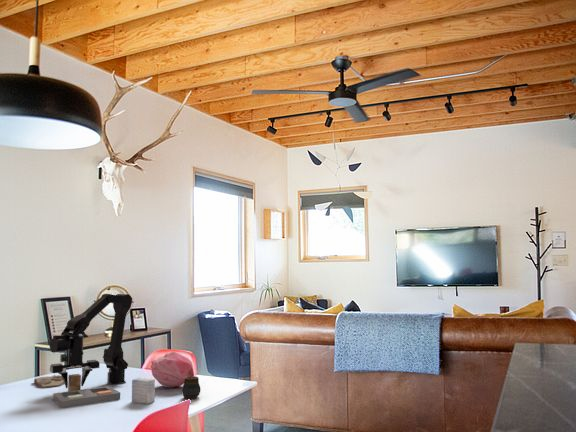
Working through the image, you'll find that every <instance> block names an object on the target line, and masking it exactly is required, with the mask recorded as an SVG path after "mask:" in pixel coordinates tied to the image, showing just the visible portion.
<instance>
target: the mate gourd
mask: <svg viewBox="0 0 576 432" xmlns="http://www.w3.org/2000/svg"><path fill="white" fill-rule="evenodd" d="M190 375H191V376H189V377H185V382H184V384H183V385H182V390H181V393H182V396H183V397H184V399H187V400H194V399H197V398H198V397H199V396H200V394H201V390H202V389H201V386H200V383H199V382H200V381H199V380H200V379H199V376H195V375H194V376H192V373H191V371H190Z"/></svg>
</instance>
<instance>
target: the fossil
mask: <svg viewBox="0 0 576 432" xmlns="http://www.w3.org/2000/svg"><path fill="white" fill-rule="evenodd" d="M33 383H34V384H36V385H37V387H39V388H41V389H46V388H52V387H59V386H60V387H61V386H62V385H65V384H64V381H63V378H62V376H61V375H60V374H58V375H51V376H47V375H46V376H39V377H36V378H34V380H33Z"/></svg>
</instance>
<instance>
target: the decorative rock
mask: <svg viewBox="0 0 576 432" xmlns="http://www.w3.org/2000/svg"><path fill="white" fill-rule="evenodd" d="M150 368H151V375H152V377H153V379H154V380H156V381H157V382H158V383H159V384H160V385H161V386H163V387H166V388H168V389H170V388H175V387H180V386H183V385H184V382H185V377H189V376H191V375H190V371H191V373H192V376H195V372H194V367H193V362H192V361H191V359H190V358H189V357H187V356H184V355H182V354H180V353H178V352H176V351H171V352H169V353H165V354H164V355H161V356H159V357H157V358H156V359H152V360H151V365H150Z"/></svg>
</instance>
